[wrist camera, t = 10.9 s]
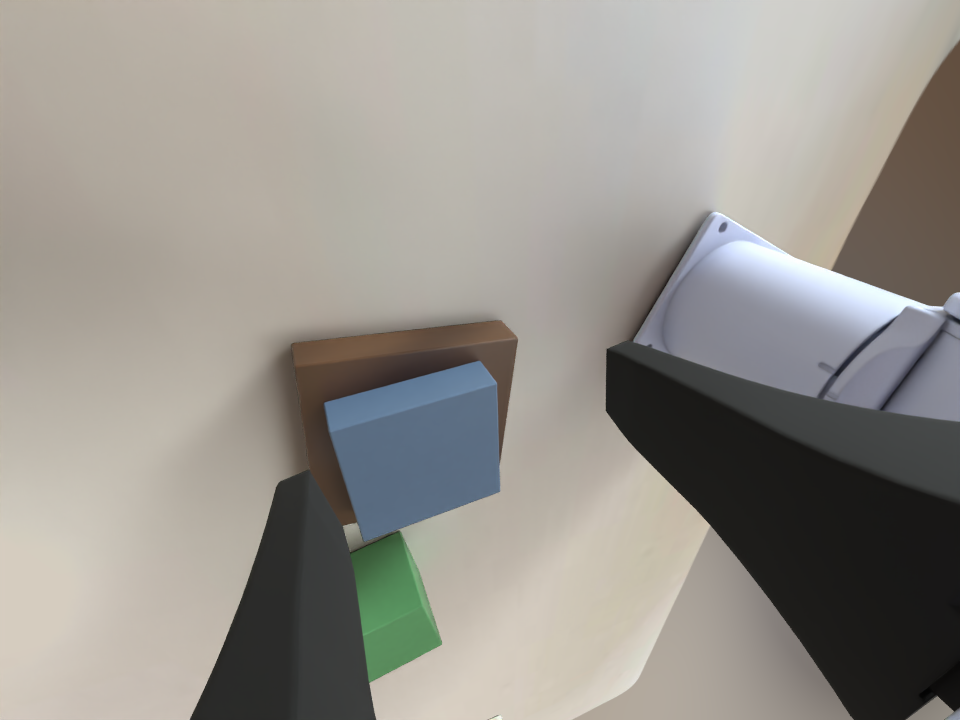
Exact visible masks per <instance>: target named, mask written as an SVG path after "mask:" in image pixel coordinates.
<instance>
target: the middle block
mask: <svg viewBox="0 0 960 720" xmlns="http://www.w3.org/2000/svg"><path fill="white" fill-rule="evenodd" d="M324 410H325V415H326V420H327V426H328V431H329V434H330V438H331V441H332V444H333V447H334V450H335V453H336V456H337V460H338V463H339V466H340V469H341V472H342V475H343V479H344V482H345V485H346V488H347V491H348V494H349V497H350V501H351V504H352V507H353V510H354V513H355V516H356V520H357V523H358V526H359V529H360V532H361V535H362V538H363V541H364V542H365V541H368V540H371V539H373V538H376V537H379V536H382V535H384V534H387V533H390V532H392V531H395V530H398V529H401V528H403V527H406V526H409V525H411V524H414V523H417V522H419V521H422V520H425V519H428V518H430V517H433V516H436V515H438V514H441V513H444V512H447V511H449V510H452V509H455V508H457V507H460V506H463V505H466V504H468V503H471V502H474V501H476V500H479V499H482V498H485V497H487V496H490V495H493V494H495V493H498V492H500V469H499V436H498V402H497V383H496V381H495V380H494V379H493V377H492V376H491V375H490V373H489V372H488V371H487V369H486V368H485V367H484V365H483V364H482V363H481V361H476V362H472V363H469V364H465V365H461V366H458V367H454V368H450V369H446V370H443V371H439V372H435V373H432V374H428V375H424V376H421V377H417V378H413V379H410V380H406V381H402V382H399V383H395V384H391V385H387V386H384V387H380V388H376V389H373V390H369V391H365V392H362V393H358V394H354V395H351V396H347V397H343V398H340V399H336V400H332V401H328V402H325V403H324Z"/></svg>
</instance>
